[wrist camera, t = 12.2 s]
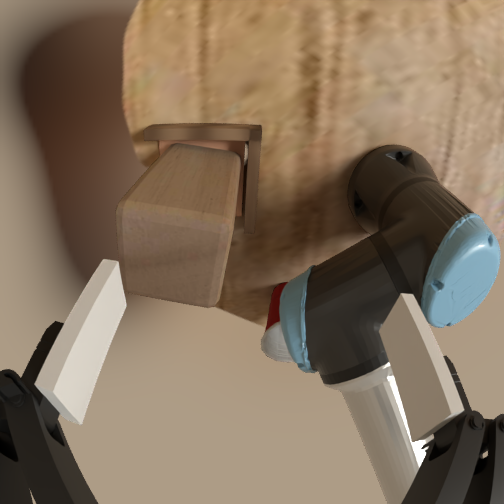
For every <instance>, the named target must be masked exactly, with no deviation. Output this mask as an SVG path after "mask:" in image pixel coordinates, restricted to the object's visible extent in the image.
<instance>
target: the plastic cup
mask: <svg viewBox="0 0 504 504" xmlns="http://www.w3.org/2000/svg"><path fill="white" fill-rule="evenodd" d="M287 283H288V282H285V283H282V284H279V285H278V286H277V287H276V288H275V289H274V291H273V293H272V297H271V304H270V307H269V314H268V320H267V326H266V330H265V333H264V335H263V337H262V339H261V348H262V351H263V352H264V353H265V354H266V356H267V357H269V358H272V359H274V360H276V361H281V362H294V361H293V359H292V357H291V355H290V353H289V351H288V349H287V346H286V343H285V340H284V337H283V333H282V328H281V323H280V314H279V306H280V297H281V293H282V291H283V289H284V287H285V285H286V284H287Z"/></svg>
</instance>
